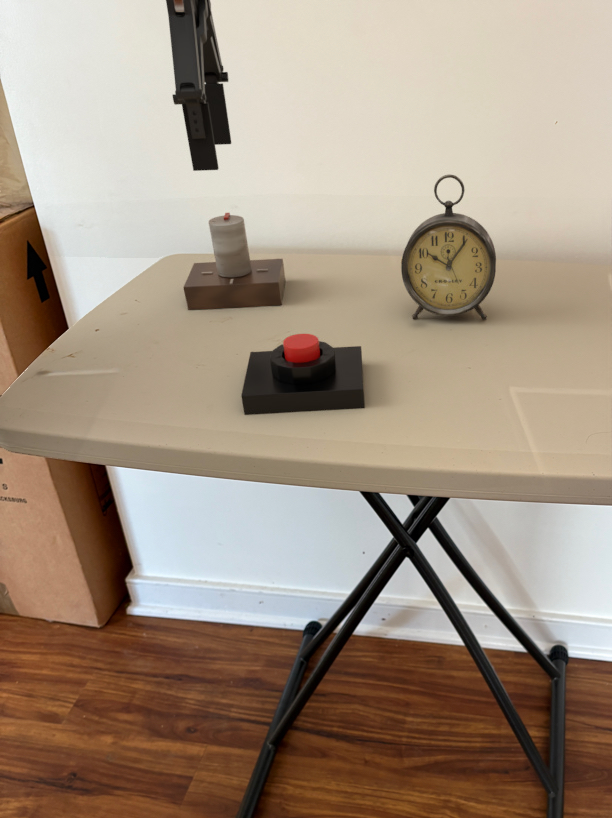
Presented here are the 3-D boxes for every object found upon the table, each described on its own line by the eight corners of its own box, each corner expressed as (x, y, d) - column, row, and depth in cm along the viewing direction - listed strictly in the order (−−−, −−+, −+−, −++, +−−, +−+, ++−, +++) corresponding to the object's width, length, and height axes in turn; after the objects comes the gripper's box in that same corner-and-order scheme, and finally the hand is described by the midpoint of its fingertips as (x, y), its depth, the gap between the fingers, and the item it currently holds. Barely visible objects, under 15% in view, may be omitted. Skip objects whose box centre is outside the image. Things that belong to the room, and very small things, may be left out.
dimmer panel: (188, 310, 97) (182, 285, 95) (198, 284, 104) (193, 261, 102) (281, 305, 98) (278, 280, 96) (285, 280, 105) (282, 257, 103)
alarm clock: (402, 324, 92) (397, 180, 82) (407, 307, 96) (404, 168, 86) (492, 326, 91) (499, 180, 81) (494, 308, 95) (500, 168, 85)
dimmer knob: (250, 276, 98) (241, 221, 93) (215, 278, 97) (205, 223, 93) (253, 265, 101) (244, 211, 97) (219, 266, 101) (210, 213, 97)
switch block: (244, 415, 76) (238, 379, 73) (253, 370, 83) (247, 336, 81) (364, 408, 76) (362, 372, 73) (362, 364, 84) (360, 330, 81)
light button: (284, 365, 76) (281, 349, 75) (286, 350, 79) (283, 334, 78) (320, 363, 76) (318, 347, 75) (320, 348, 79) (319, 332, 78)
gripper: (161, -72, 86) (196, 135, 100) (111, -75, 67) (163, 183, 80) (228, -73, 87) (254, 133, 100) (197, -77, 67) (234, 181, 80)
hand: (213, 156), depth 90 cm, fingers open, 13 cm apart
